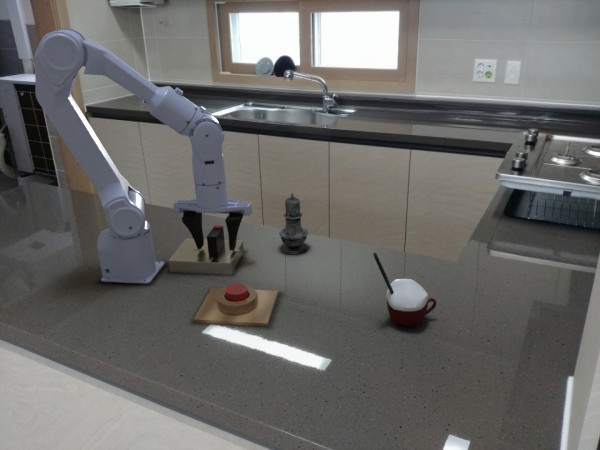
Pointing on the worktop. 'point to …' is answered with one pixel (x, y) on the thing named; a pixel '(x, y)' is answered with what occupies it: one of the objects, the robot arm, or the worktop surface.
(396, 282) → the cocoa
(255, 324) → the button block
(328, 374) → the worktop surface
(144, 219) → the robot arm
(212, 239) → the knob
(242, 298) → the button
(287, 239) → the salt shaker
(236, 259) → the panel
